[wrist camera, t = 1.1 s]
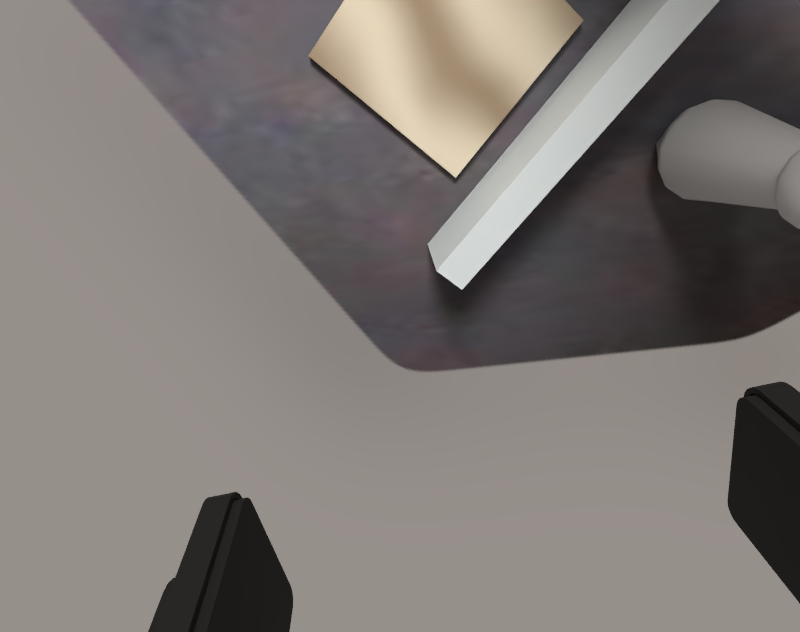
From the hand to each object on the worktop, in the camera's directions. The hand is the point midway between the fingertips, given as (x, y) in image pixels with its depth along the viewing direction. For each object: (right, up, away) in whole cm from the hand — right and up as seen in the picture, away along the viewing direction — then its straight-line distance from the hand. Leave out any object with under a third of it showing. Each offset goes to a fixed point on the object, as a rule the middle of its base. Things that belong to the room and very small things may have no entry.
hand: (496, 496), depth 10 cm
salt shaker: (+16, +14, +23) cm, 32 cm away
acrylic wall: (+8, +16, +22) cm, 28 cm away
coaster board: (+1, +19, +20) cm, 28 cm away
